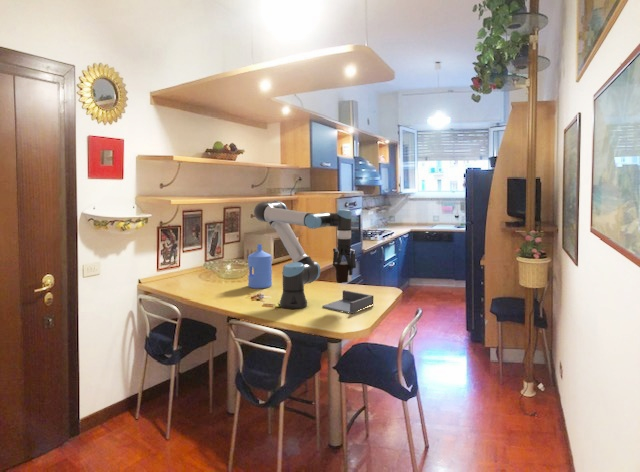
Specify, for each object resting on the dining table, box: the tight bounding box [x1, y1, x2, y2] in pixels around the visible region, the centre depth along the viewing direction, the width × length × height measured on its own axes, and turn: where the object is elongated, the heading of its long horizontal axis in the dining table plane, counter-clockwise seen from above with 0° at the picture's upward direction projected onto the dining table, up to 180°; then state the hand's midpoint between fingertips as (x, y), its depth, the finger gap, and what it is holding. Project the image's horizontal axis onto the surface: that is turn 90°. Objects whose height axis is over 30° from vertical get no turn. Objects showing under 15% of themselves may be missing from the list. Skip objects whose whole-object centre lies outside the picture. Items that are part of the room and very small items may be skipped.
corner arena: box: [321, 289, 374, 314], centre depth 234 cm, size 20×20×6 cm
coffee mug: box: [334, 261, 349, 283], centre depth 233 cm, size 12×9×10 cm
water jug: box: [247, 244, 273, 290], centre depth 283 cm, size 16×16×28 cm
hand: (344, 280), depth 233 cm, fingers closed on coffee mug, 6 cm apart
